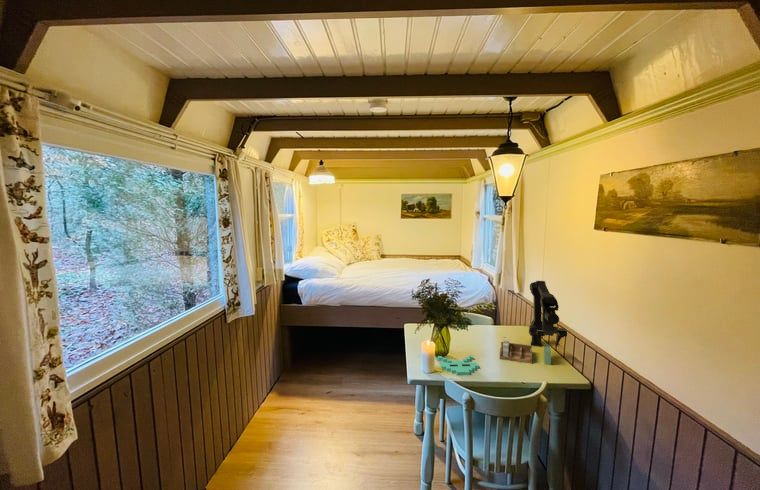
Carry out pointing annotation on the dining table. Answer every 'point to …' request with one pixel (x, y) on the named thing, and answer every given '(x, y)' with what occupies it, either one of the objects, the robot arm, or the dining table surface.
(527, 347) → the book rack
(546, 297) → the robot arm
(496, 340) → the dining table surface
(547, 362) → the green book
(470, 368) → the alien figure
